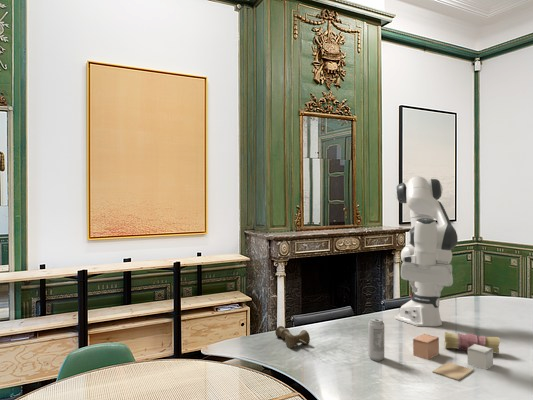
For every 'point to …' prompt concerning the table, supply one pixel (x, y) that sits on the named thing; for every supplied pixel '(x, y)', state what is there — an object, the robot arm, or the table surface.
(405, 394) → the table surface
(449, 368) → the cork pad
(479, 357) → the off-white bevelled cube
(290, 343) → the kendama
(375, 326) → the energy drink can
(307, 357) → the table surface
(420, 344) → the pink paneled box
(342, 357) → the table surface
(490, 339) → the scroll
